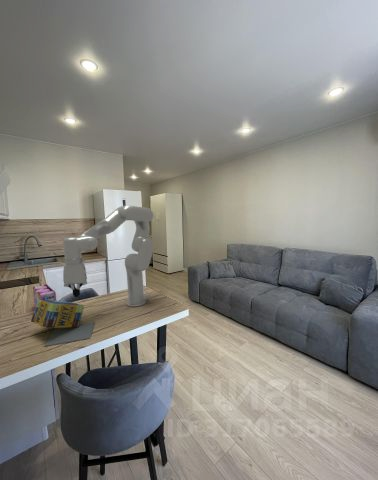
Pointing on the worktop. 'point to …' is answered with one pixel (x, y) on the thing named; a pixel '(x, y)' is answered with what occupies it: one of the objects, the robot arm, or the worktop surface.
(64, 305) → the protein box
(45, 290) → the gum box
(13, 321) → the worktop surface
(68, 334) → the rubber mat
